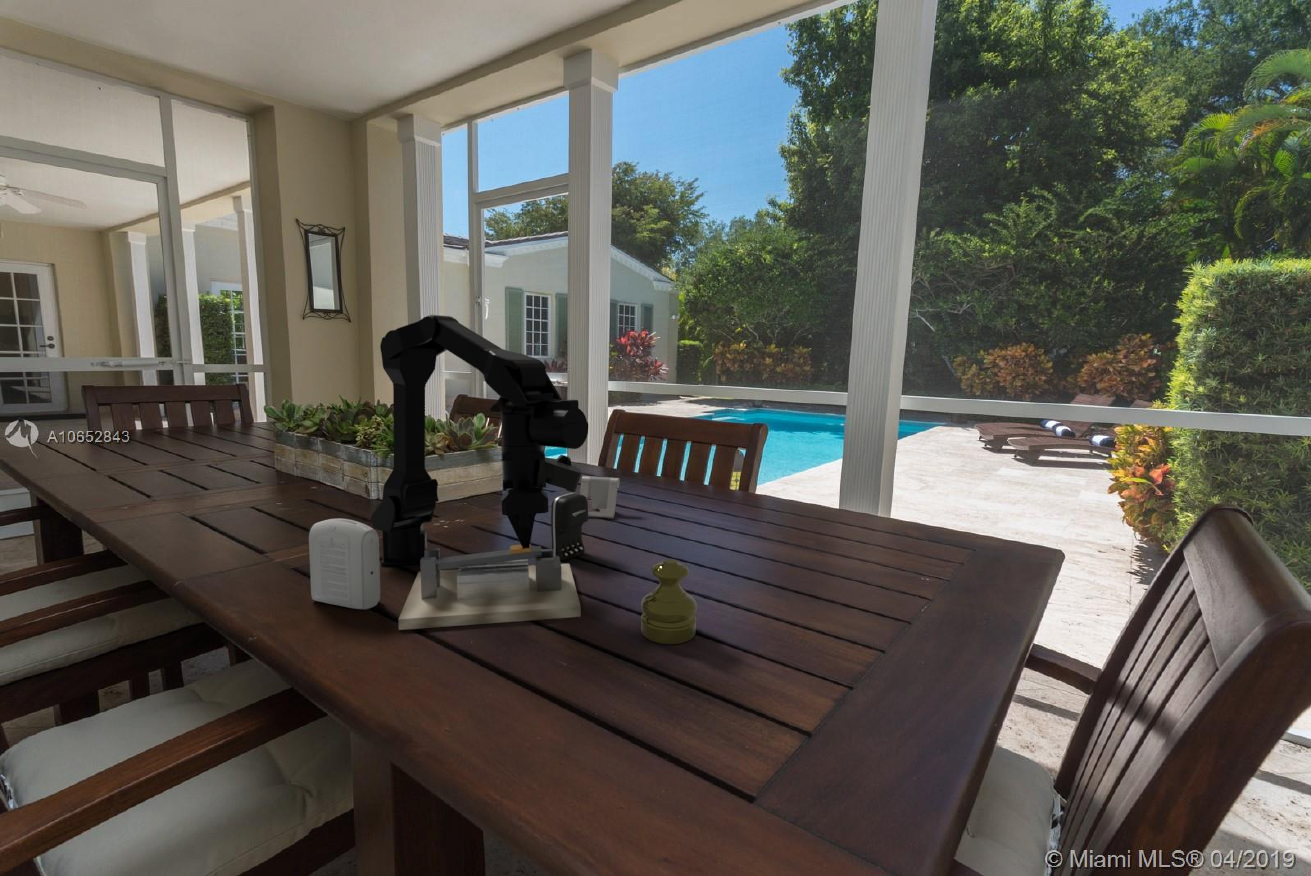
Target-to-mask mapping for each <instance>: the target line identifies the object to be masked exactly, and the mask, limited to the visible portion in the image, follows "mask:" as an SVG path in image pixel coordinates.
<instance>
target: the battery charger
mask: <svg viewBox="0 0 1311 876" xmlns="http://www.w3.org/2000/svg"><path fill="white" fill-rule="evenodd" d="M588 508H589V501H588V500H587V498H586V497H585V496H584V495H581V494H580V493H577V492H569V493H565V494H562V495H558V496H556V497H554V498H553V500H552V503H551V507H550V510H551V511H550V526H551V527H550V528H551V531H550V533H551V549H553V556H559V558H560V561H568V560H571V559H573V558H577V557H579V556H581V555H583V554H584V553H585V551H586V550H585V546H584V543H583V537H582V533H583V531H582V529H583V525H584V524H585V523H587V522H588V521H589V517H588Z"/></svg>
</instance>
